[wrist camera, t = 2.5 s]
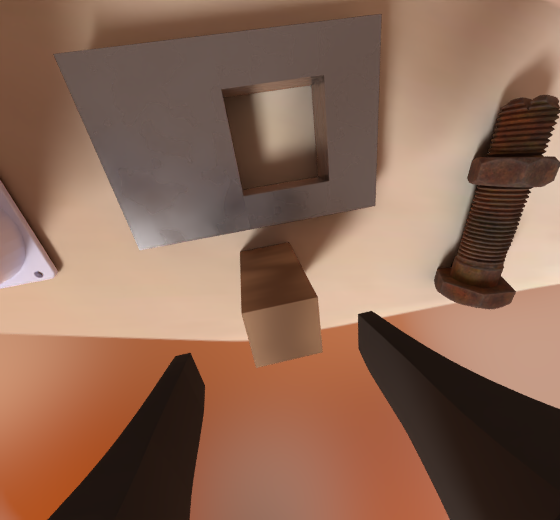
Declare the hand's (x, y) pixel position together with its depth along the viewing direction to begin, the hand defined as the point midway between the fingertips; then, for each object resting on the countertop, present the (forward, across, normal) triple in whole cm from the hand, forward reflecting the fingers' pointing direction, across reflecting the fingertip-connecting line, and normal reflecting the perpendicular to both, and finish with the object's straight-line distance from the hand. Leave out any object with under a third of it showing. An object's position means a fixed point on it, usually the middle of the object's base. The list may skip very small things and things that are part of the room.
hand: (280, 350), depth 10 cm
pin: (+10, 0, +2) cm, 11 cm away
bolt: (+11, -19, 0) cm, 22 cm away
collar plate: (+10, -1, -8) cm, 13 cm away
